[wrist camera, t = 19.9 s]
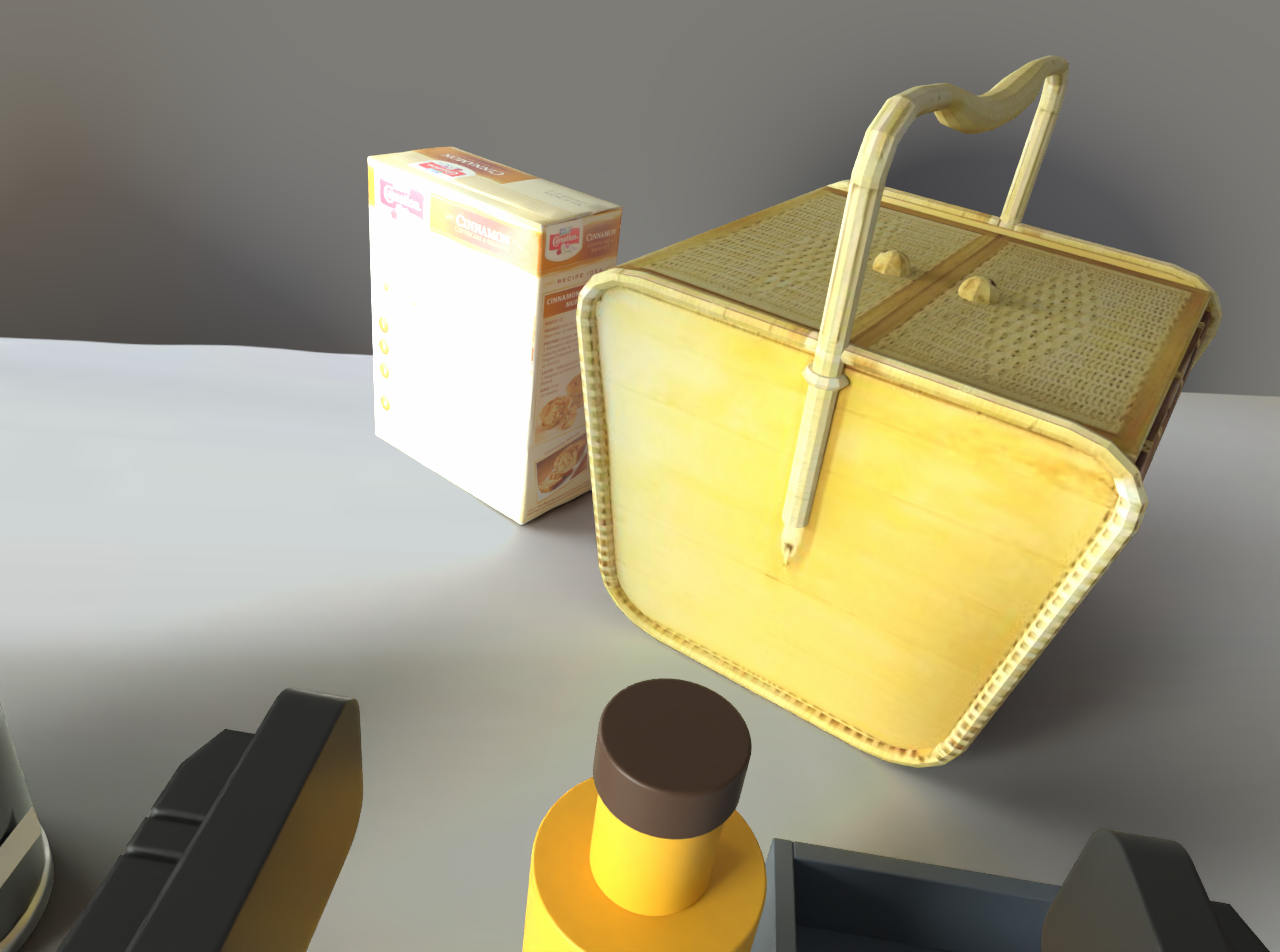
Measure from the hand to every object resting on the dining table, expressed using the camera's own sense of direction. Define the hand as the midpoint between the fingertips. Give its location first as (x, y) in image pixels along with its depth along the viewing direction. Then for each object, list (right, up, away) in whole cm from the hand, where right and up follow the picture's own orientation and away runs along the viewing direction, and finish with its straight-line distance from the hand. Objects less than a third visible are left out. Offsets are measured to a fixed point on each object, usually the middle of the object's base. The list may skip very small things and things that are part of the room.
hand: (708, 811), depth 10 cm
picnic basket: (+12, -3, +49) cm, 50 cm away
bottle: (-2, -18, +21) cm, 28 cm away
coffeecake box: (-12, +4, +56) cm, 57 cm away
